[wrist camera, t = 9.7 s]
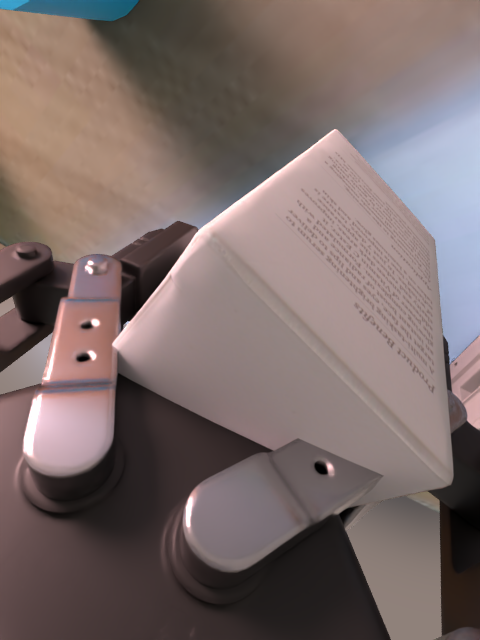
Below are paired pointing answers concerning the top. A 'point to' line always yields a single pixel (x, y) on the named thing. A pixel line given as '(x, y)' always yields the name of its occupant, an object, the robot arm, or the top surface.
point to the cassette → (468, 381)
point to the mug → (74, 8)
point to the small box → (309, 323)
